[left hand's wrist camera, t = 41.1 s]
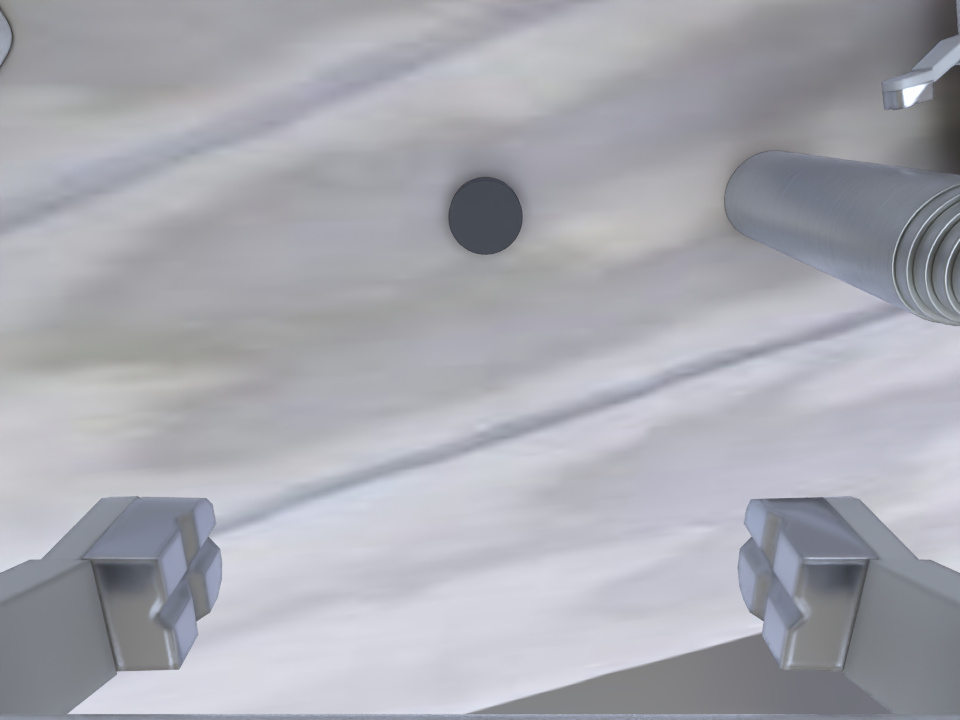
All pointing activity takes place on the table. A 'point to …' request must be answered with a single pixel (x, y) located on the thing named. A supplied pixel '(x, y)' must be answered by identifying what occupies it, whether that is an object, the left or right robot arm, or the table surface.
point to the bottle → (858, 225)
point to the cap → (485, 216)
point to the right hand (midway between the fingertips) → (897, 183)
